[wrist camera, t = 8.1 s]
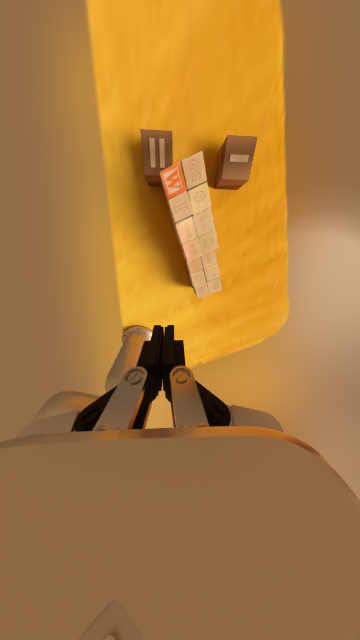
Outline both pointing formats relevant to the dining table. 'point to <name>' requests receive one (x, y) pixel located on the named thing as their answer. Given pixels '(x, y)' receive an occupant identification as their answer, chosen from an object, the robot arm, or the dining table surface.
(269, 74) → the dining table surface
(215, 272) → the stack of blocks
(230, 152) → the walnut cube one
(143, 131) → the walnut cube two
